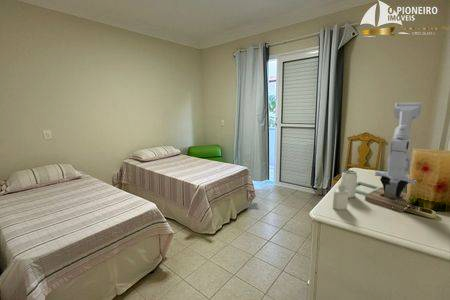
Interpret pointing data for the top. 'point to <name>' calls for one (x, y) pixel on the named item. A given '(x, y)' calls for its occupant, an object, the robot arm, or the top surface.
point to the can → (349, 182)
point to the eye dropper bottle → (340, 198)
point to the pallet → (387, 200)
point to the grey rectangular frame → (368, 186)
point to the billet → (391, 191)
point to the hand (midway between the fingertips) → (391, 194)
